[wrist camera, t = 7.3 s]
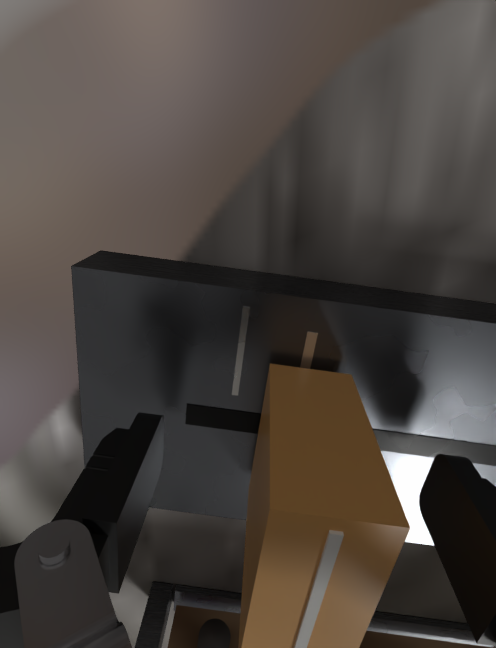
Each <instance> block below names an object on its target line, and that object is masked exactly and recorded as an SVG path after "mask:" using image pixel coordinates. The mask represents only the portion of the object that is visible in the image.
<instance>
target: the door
mask: <svg viewBox="0 0 496 648" xmlns="http://www.w3.org/2000/svg"><path fill="white" fill-rule="evenodd" d="M239 629H240V613H233V612H226V611H218V610H211V609H203V608H196V607H189V606H181V605H176V610H175V615H174V620H173V624H172V629H171V634H170V639H169V644H168V648H238V644H239ZM359 648H492V647H485V646H477V645H470V644H462V643H455V642H448V641H440V640H433V639H425V638H418V637H411V636H403V635H396V634H388V633H381V632H374V631H366V633H365V635H364V637H363V640H362V642H361V644H360V647H359Z"/></svg>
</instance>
